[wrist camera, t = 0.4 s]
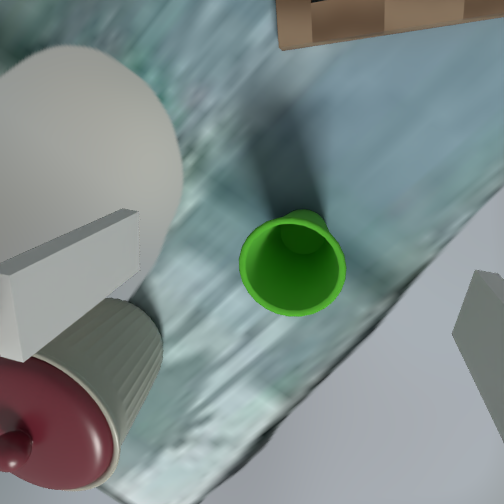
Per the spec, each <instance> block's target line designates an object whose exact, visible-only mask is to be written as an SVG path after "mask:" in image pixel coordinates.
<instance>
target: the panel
mask: <svg viewBox="0 0 504 504" xmlns="http://www.w3.org/2000/svg"><path fill="white" fill-rule="evenodd" d="M276 12H277V26H278V41H279V48H280V49H281V50H282V51H285V50H292V49H298V48H305V47H311V46H318V45H324V44H331V43H337V42H344V41H350V40H357V39H363V38H370V37H377V36H383V35H390V34H396V33H403V32H409V31H416V30H422V29H429V28H435V27H442V26H448V25H455V24H461V23H468V22H475V21H481V20H488V19H494V18H501V17H504V0H325V1H320V2H314V3H312V0H276Z"/></svg>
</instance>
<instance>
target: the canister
mask: <svg viewBox="0 0 504 504" xmlns="http://www.w3.org/2000/svg"><path fill="white" fill-rule="evenodd" d="M162 360H163V342H162V340H161V335H160V334H159V331H158V328H157V327H156V326H155V323H154V322H153V321H152V320H151V318H150V317H149V316H147V315H146V313H145V312H144V311H142V310H141V309H140V308H139V307H136V306H134V304H132V303H128V302H127V301H122V300H120V299H113V298H105V299H103V300H102V301H101V302H100V303H98V304H97V305H96V306H95V307H93V308H92V309H91V310H90V311H88V312H87V313H86V314H84V315H83V316H82V317H81V318H79V319H78V320H77V321H76V322H74V323H73V324H72V325H71V326H69V327H68V328H67V329H65V330H64V331H63V332H62V333H60V334H59V335H58V336H57V337H55V338H54V339H53V340H51V341H50V342H49V343H48V344H46V345H45V346H44V347H43V348H41V349H40V350H39V351H38V352H36V353H35V354H34V355H32V356H31V357H30V358H29V359H27V360H26V361H25V362H24V363H23V362H19V361H15V360H11V359H8V358H4V357H0V471H2V472H11V473H12V474H14V475H16V476H17V477H19V478H21V479H23V480H25V481H27V482H29V483H32V484H34V485H37V486H40V487H44V488H48V489H55V490H64V491H83V490H88V489H92V488H95V487H97V486H99V485H101V484H103V483H104V482H105V481H107V480H108V479H109V478H110V477H111V475H112V474H113V472H114V471H115V469H116V467H117V465H118V462H119V458H120V450H121V445H122V443H123V442H124V440H125V438H126V436H127V434H128V432H129V430H130V428H131V426H132V424H133V422H134V420H135V418H136V416H137V415H138V413H139V411H140V409H141V407H142V405H143V403H144V401H145V399H146V397H147V395H148V393H149V391H150V389H151V387H152V385H153V383H154V381H155V379H156V377H157V375H158V372H159V370H160V367H161V363H162Z"/></svg>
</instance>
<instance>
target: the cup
mask: <svg viewBox="0 0 504 504" xmlns="http://www.w3.org/2000/svg"><path fill="white" fill-rule="evenodd" d="M239 271H240V275H241V279H242V282H243V284H244V286H245V287H246V289H247V291H248V293H249V294H250V295H251V296H252V297H253V299H254V300H255V301H256V302H257V303H259V304H260V305H261V306H263V307H264V308H266V309H268V310H270V311H272V312H274V313H276V314H280V315H285V316H305V315H310V314H314V313H316V312H318V311H320V310H322V309H324V308H326V307H327V306H328V305H329V304H331V303H332V302H333V301H334V300H335V299H336V297H337V296H338V294H339V293H340V292H341V290H342V287H343V284H344V282H345V277H346V262H345V257H344V254H343V251H342V249H341V247H340V245H339V243H338V242H337V241H336V239H335V238H334V237H333V236H332V235H331V233H330V232H329V230H328V228H327V226H326V224H325V221H324V220H323V219H322V217H321V216H320V215H318V214H317V213H315V212H313V211H311V210H306V209H300V210H295V211H292V212H291V213H289V214H287V215H285V216H284V217H281V218H276V219H273V220H270V221H267V222H265V223H264V224H262V225H260V226H259V227H257V228H256V229H255V230H254V231H253V232H252V233H251V234H250V235H249V236H248V237H247V239H246V241H245V242H244V244H243V246H242V249H241V253H240V257H239Z"/></svg>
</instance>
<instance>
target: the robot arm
mask: <svg viewBox="0 0 504 504" xmlns="http://www.w3.org/2000/svg"><path fill="white" fill-rule="evenodd" d="M139 249H140V247H139V211H133V210H128V209H120V210H118V211H116V212H114V213H111V214H109V215H107V216H105V217H102V218H100V219H98V220H96V221H94V222H91V223H89V224H87V225H85V226H82V227H80V228H78V229H76V230H73V231H71V232H69V233H67V234H64V235H62V236H60V237H57V238H55V239H53V240H51V241H49V242H46V243H44V244H42V245H40V246H38V247H35V248H33V249H31V250H28V251H26V252H24V253H22V254H19V255H17V256H15V257H13V258H10V259H8V260H6V261H4V262H1V263H0V357H4V358H8V359H11V360H15V361H19V362H23V363H24V362H25V361H26V360H27V359H29V358H30V357H31V356H32V355H34V354H35V353H36V352H38V351H39V350H40V349H41V348H43V347H44V346H45V345H46V344H48V343H49V342H50V341H51V340H53V339H54V338H55V337H57V336H58V335H59V334H60V333H62V332H63V331H64V330H65V329H67V328H68V327H69V326H71V325H72V324H73V323H74V322H76V321H77V320H78V319H79V318H81V317H82V316H83V315H84V314H86V313H87V312H88V311H90V310H91V309H92V308H93V307H95V306H96V305H97V304H98V303H100V302H101V301H102V300H103V299H105V298H106V297H107V296H108V295H110V294H111V293H112V292H114V291H115V290H116V289H117V288H119V287H120V286H121V285H123V284H124V283H125V282H126V281H127V280H129V279H130V278H131V277H133V276H134V275H135V274H136V273H138V272H139V271H140V254H139V253H140V251H139ZM452 336H453V338H454V340H455V342H456V344H457V346H458V348H459V350H460V352H461V354H462V357H463V358H464V361H465V363H466V365H467V367H468V369H469V371H470V373H471V375H472V377H473V379H474V382H475V383H476V386H477V388H478V390H479V392H480V394H481V396H482V398H483V400H484V402H485V404H486V406H487V409H488V411H489V413H490V415H491V417H492V419H493V421H494V423H495V425H496V427H497V429H498V431H499V433H500V436H501V438H502V440H503V442H504V279H503V278H502V277H501V276H500V275H499V274H497V273H491V272H486V271H479V270H475V271H474V274H473V277H472V280H471V282H470V285H469V289H468V291H467V293H466V296H465V299H464V302H463V305H462V307H461V310H460V313H459V316H458V319H457V321H456V324H455V327H454V329H453V332H452Z"/></svg>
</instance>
